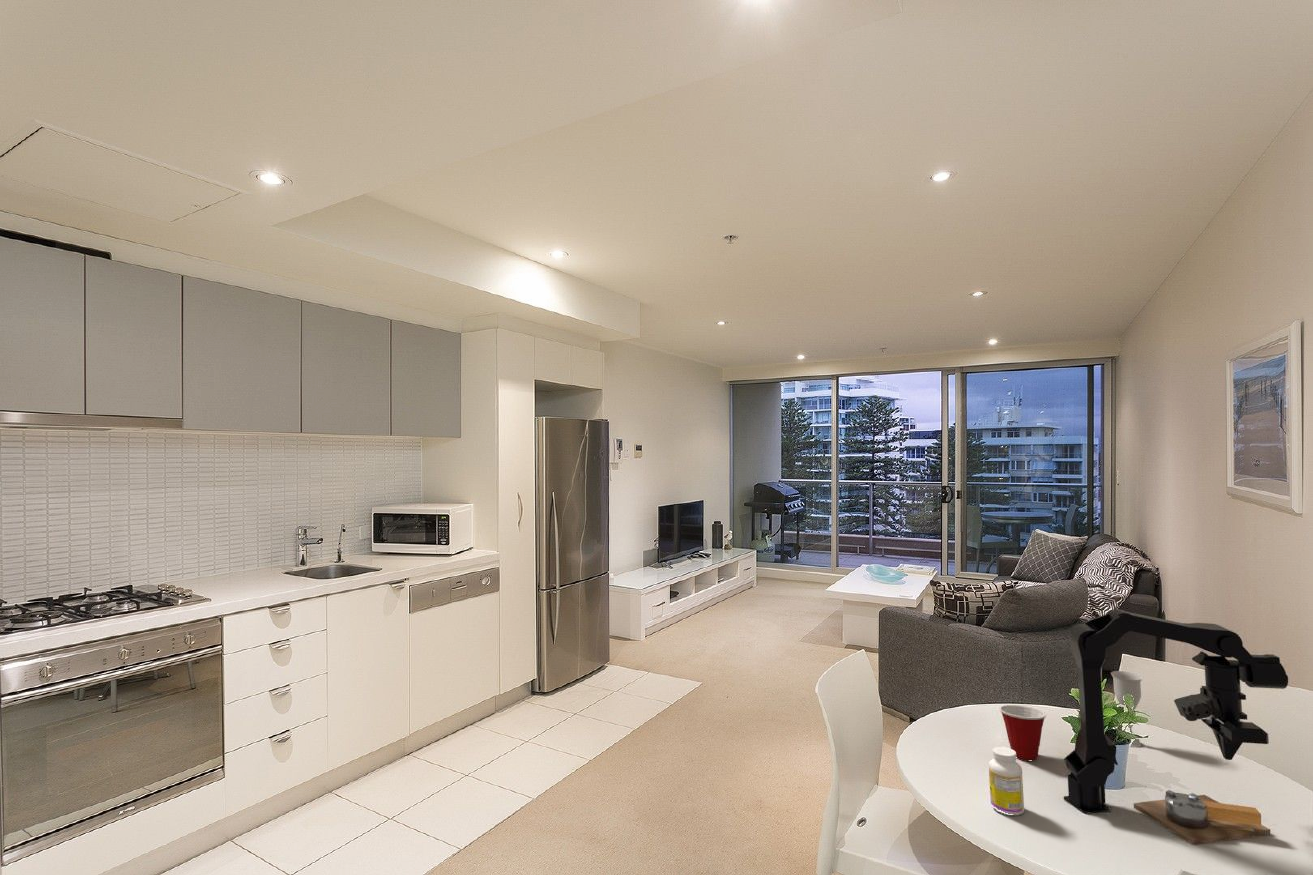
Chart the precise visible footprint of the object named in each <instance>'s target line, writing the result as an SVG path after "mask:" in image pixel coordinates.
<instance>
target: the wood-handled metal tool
mask: <svg viewBox="0 0 1313 875" xmlns="http://www.w3.org/2000/svg"><path fill="white" fill-rule="evenodd" d="M1198 795H1199V794H1196V793H1193V792H1191V793H1189V794H1186V793H1182V792H1181V793H1180V792H1175V791H1172V790H1170V789H1168V790H1166V791H1165V795H1164V799H1165V806H1166V816H1167V817H1168V818H1169V819H1170V820H1172V821H1174V822H1176V823H1178V824H1180V825H1183V826H1187V827H1191V828H1206V827H1208V825H1209V823H1208V819H1213V820H1220V821H1227V822H1234V823H1241V824H1249V825H1256V826H1261V825H1262V813H1260V811H1259V810H1258V809H1257V808H1256V807H1254V806H1253V807H1251V806H1245V805H1238V804H1237V805H1235V804H1230V803H1222V802H1219V803H1215V802H1208V801H1202V800H1201V799H1199V796H1198Z"/></svg>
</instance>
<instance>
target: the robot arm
mask: <svg viewBox="0 0 1313 875" xmlns="http://www.w3.org/2000/svg"><path fill="white" fill-rule="evenodd" d="M1129 632H1134V633H1136V634H1137V633H1138V634H1143V635H1147V636H1150V637H1151V636H1152V637H1157V638H1161V639H1168V640H1171V641H1175V642H1176V641H1177V642H1180V643H1185V644H1189V645H1191V646H1194V647H1197V648H1199V649H1201V651H1200V652H1199V653H1198V654H1196V655H1194V656H1192V658H1191V660H1192V661H1193V662H1194V663H1196V664H1198V665H1200V666H1204V678H1205V679H1204V680H1205V685H1201V687H1200V688H1199V690H1200V692H1199V693H1197V694H1189V695H1186V696H1182V697H1179V698H1175V699H1173V700H1174V704H1175V706H1176V708H1177V711H1178V713H1179V714H1180V716H1182V717H1183V718H1185V719H1186V720H1187V721H1188V722H1196V721H1198V720H1201V721H1202V723H1203V724H1205V725H1206V726H1208V727H1209V729H1211V730H1212V732H1213V735H1214V738H1215V740H1216V742H1217V744H1218V747H1219V749H1220V751H1221V756H1222V757H1223V758H1224V759H1225V760H1226V761H1227V760H1228V761H1232V760H1233V758H1234V757H1235V755H1236V754H1237V752H1238V751H1239V749H1240V747H1241V745H1242V744H1243V743H1244V744H1256V745H1257V744H1258V745H1269V743H1270V742H1269V733H1268V732H1266V731H1265V730H1264V729H1263V728H1261V727H1260V726H1259V725H1257V724H1255V723H1254V722H1252V721H1250V722H1249V721H1248V722H1247V721H1243V720H1248V714H1246V713H1245V712H1244V711H1243V706H1242V705H1243V704H1242V701H1245V700H1247V695H1246V694H1245V693H1242V689H1241V682H1243V683H1244V684H1245V685H1246V686H1247V687H1249V688H1256V689H1258V688H1260V689H1277V690H1285V689H1286V688H1287V687H1288V684H1289V675H1288V674H1287V671H1286V670H1285V667H1284V666H1283V665H1282V663H1281V659H1280V657H1279V656H1277V655H1274V654H1269V653H1266V654H1251V653H1250V652H1249V651H1248V650H1247V649H1246V648H1245V646H1244V643H1243V640H1242V638H1241V637H1240V635H1239V634H1238V633H1236V632H1234V631H1232V630H1230V629H1227V628H1225V627H1223V626H1221V625H1219V624H1216V623H1211V622H1210V623H1208V622H1207V623H1206V622H1190V623H1187V622H1185V623H1184V622H1183V623H1182V622H1178V621H1173V620H1168V619H1164V618H1159V617H1155V616H1149V615H1143V614H1140V613H1139V614H1138V613H1134V612H1130V611H1125V610H1123V609H1118V608H1117V609H1113V610H1111V611H1109V612H1107V613H1106V614H1103V615H1101V616H1097V617H1095V618H1092V619H1089V620H1087V621H1086V622H1084V623H1077V624H1074V625H1072V626H1071V628H1069V629H1068V631H1067V638H1068V643H1069V646H1070V650H1071V652H1072V655H1073V658H1074V660H1075V663H1076V668H1077V683H1078V698H1079V699H1078V702H1079V717H1080V729H1079V730H1078V733H1077V734H1076V738H1075V746H1074V750H1072V751H1071V752H1070V753H1069V754H1067V755H1066V756H1065V757H1064V758H1063V761H1064V763H1065V765H1066V767H1067V768H1068V770H1069V771H1070V773H1069V774H1067V791H1068V792H1067V793H1068V795H1064V796H1063V800H1064V801H1066V802H1067V803H1069V804H1071V805H1072V806H1073V807H1075V808H1076V809H1078V810H1080V811H1081V812H1082V813H1084V814H1091V813H1100V812H1101V813H1102V812H1110V811H1111V807H1110V806H1109V805H1107V804H1106V801H1107V800H1106V782H1107V779H1108V777H1109V776H1110V775H1111V774H1113V773H1114V771H1115V765H1116V766H1118V765H1119V764H1118V761H1117V757H1116V755H1117V745H1116V744H1115V743H1114V742H1113V741H1112V740H1111V739H1110V738H1109V737H1108V736H1107V734H1105V722H1104V721H1105V720H1104V718H1105V717H1104V707H1103V706H1104V704H1103V688H1102V687H1103V686H1102V667H1103V665H1104V663H1105V661H1106V659H1107V658H1106V656H1107V650H1108V648H1109V647H1111V646H1112V645H1115V644H1116V643H1117V642H1118V641H1119V640H1120V639H1121V638H1122V637H1124V635H1126V634H1127V633H1129ZM1202 650H1203V651H1202ZM1204 651H1207V652H1209V653H1212V654H1215V655H1209V654H1207V653H1206V652H1204ZM1228 658H1229V659H1228ZM1230 658H1233V659H1230ZM1234 659H1235V660H1234Z"/></svg>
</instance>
